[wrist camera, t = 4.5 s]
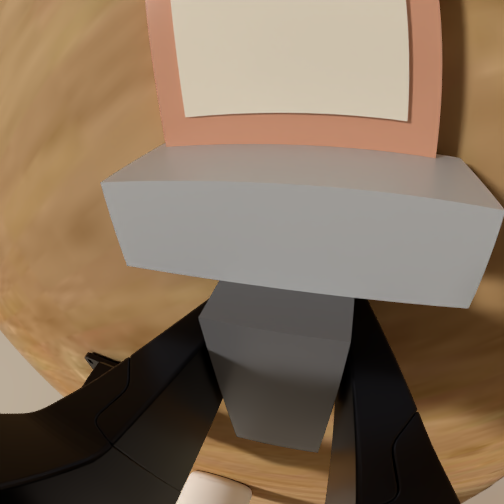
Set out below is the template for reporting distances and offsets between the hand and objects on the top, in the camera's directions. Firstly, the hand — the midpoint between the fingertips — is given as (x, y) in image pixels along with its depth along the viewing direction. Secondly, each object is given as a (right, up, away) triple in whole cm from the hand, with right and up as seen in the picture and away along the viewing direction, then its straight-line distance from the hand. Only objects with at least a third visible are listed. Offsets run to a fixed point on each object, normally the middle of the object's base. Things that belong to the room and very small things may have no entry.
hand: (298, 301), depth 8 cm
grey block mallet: (0, +1, +1) cm, 1 cm away
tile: (0, +7, -2) cm, 7 cm away
